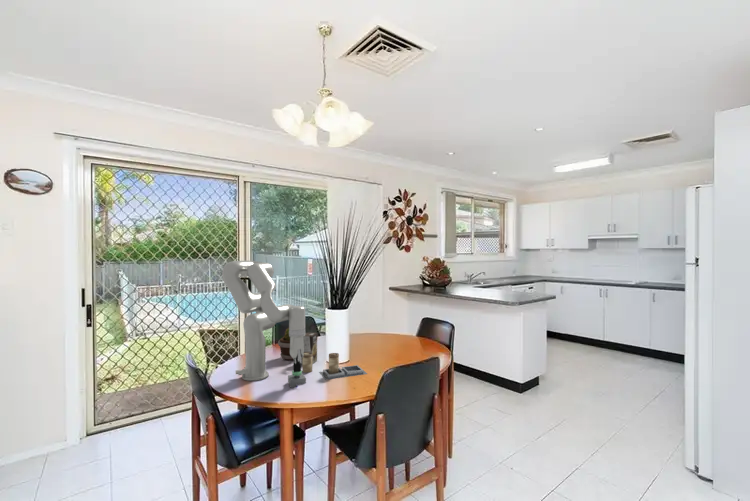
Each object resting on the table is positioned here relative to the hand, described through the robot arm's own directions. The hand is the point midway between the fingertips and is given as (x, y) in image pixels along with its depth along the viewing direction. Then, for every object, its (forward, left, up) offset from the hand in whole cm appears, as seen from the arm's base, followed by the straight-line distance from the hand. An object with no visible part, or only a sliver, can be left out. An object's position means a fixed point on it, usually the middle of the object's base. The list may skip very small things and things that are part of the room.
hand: (297, 371), depth 171 cm
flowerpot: (+5, +42, -6) cm, 43 cm away
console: (0, 0, -6) cm, 6 cm away
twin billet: (+19, +3, -5) cm, 20 cm away
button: (0, 0, -4) cm, 4 cm away
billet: (+8, +13, -6) cm, 17 cm away
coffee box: (+13, +30, -6) cm, 33 cm away
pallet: (+24, +3, -6) cm, 25 cm away
